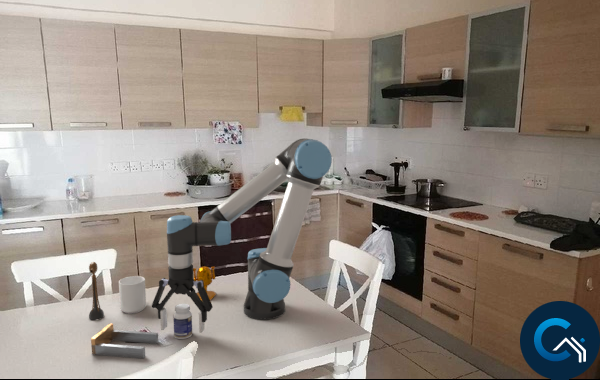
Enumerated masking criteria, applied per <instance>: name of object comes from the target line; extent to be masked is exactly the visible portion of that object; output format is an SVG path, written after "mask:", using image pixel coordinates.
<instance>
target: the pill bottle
mask: <svg viewBox="0 0 600 380" xmlns="http://www.w3.org/2000/svg"><path fill="white" fill-rule="evenodd" d="M191 336H193V314H192V311H191V306H190V304H189V303H179V304H176V305H175V306H174V314H173V337H174V338H175V339H178V340H186V339H188V338H191Z"/></svg>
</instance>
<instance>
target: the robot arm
mask: <svg viewBox="0 0 600 380" xmlns="http://www.w3.org/2000/svg"><path fill="white" fill-rule="evenodd" d="M332 162H333V157H332V154H331V151H330V149H329V147H328V146H326V145H325V144H324V143H323V142H322V141H319V140H317V139H311V138H299V139H296V140H295V141H293V142H292V143H290V145H288V146H287V147H286V148H285V149H283V151H282V152H280V153H278V155H277V156H275V158H274V162H272V163H271V164H269V166H267V167H266V168H265V169H263V170H262V171H261V172H259V173H258V174H257V175H256V176H255V177H253V178H251V180H249V181H248V182H246V183H245V184H244V185H242V187H240V188H239V189H237V190H236V191H235V192H234V193H232V194H231V195H229V196H228V197H227V198H226V199H225V200H223V201H222V202H221V203H219V204H218V205H217V206H216V207H214V208H213V209H211V210H210V211H207V212H205V213H204V214H203V215H202V217H201V218H200V221H198V222H197V221H193V219H192V217H191V216H190V215H186V214H185V215H183V214H177V215H173V216H170V217H169V218H168V219H167V221H166V240H167V241H166V243H167V257H168V258H167V265H168V269H167V270H168V279H167V278H166V277H163V278H162V279H160V280H159V281H158V288H157V291H156V293H155V296H154V299H153V301H152V303H151V308H152V309H156V310H157V318H158V319H159V320H160V331H164V330H165V329H166V328H167V327H168V323H167V321H168V320H167V307H165V305H166V304H167V303H168V302H169V300H170V299H171V298H172V296H173V294H175V295H182V296H183V295H187V297H189V298H190V299H191V301H192V302H193V303H194V304H195V306H196V307H197V308H198V310H199V311H200V312H198V332H199V334H203V331H204V330H205V323H206V322H207V321H208V312H210V311H211V310H212V309H213V304H212V302H211V301H210V299H209V297H208V295H207V293H206V290H205V288H204V282H203V280H200V281H194V272H193V268H194V265H193V263H194V254H193V252H194V251H193V250H194V249H193V247H206V246H207V247H209V246H211V247H212V246H219V247H220V246H224V245H225V246H226V245H229V244H230V243H231V241H232V227H231V224H233V222H234V221H236V220H237V219H238V218H239V217H241V216H243V215H244V214H245V213H246V212H247V211H248V210H250V209H251V208H253V207H254V206H255V205H256V204H257V203H259V202H260V201H261V200H263V199H264V198H266V197H267V196H268V195H269V194H270V193H271V192H273V191H274V190H276V189H277V188H278V187H279V186H281V185H282V184H283V183H284V182H287V180H288V182H287V185H286V189H285V192H284V194H283V197H282V201H281V203H280V206H279V210H278V213H277V217H276V219H275V222H274V226H273V229H272V231H271V235H270V237H269V241H268V243H267V247H263V248H262V247H261V248H255V249H251V250H249V251H248V253H247V258H246V259H247V289H248V290H247V294H246V296H245V297H246V298H245V301H244V302H243V303H244V304H243V314H244V315H245V316H246V317H248V318H251V319H255V320H272V319H277V318H278V317H281V316H283V315H284V314H285V312H286V303H285V298H286V296H288V294H289V293H290V290H291V279H290V277H291V276H292V275H291V274H292V271H293V269H294V262H293V260H292V257H293V253H294V250H295V249H296V244H297V242H298V239H299V236H300V233H301V230H302V227H303V223H304V220H305V217H306V214H307V211H308V208H309V205H310V202H311V199H312V196H313V193H314V190H315V189H317V188H319V187H320V186H321V184H322V181H323V177H324V176H326V174H327V173H328V172H329V171H330V169H331V167H332ZM167 285H168V286H169V288H170V290H169V291H168V292H167V294H166V295H165V297H163V299H162V300H161V298H162V296H163V293H164V291H165V289H166V286H167ZM194 286H195V288H194ZM195 289H197V292H199V294H200V297H201V299H202V300H201V299H200V297H199V296H198V295H197V292H196V290H195ZM160 301H161V302H160Z"/></svg>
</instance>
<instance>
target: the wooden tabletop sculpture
mask: <svg viewBox="0 0 600 380" xmlns="http://www.w3.org/2000/svg"><path fill="white" fill-rule="evenodd" d="M88 270H89V273H90V274H92V275H91V284H92V285H91V286H92V306H91V307H92V308H91V310H90V312H89V314H88V319H89V320H91V321H97V320H101V319H103V318H104V316H105V312H104V310H103V309H102V307H101V305H100V301H99V296H98V283H97V275H96V273H97V272H98V264H97V262H95V261H92V262H90V263H89V265H88Z"/></svg>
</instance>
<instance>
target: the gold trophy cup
mask: <svg viewBox="0 0 600 380" xmlns="http://www.w3.org/2000/svg"><path fill="white" fill-rule="evenodd" d="M215 268H216V267H215V266H211V268H210V267H209V266H205V265H204V266H201V267H199V268H198V270H197V268H196V267H195V268H194V267H193V279H194V281H200V280H203V282H204V288H205V290H206V293H207V295H208V297H209V299H210V302H211V301H212V300H213V299H214V298H215V297H216V295H217V294H216V292H215V291H214V290H208V286H210V285H211V284H212V283H213V280H216V275H215ZM196 271H197V272H196ZM196 293H197V295H198V296H199V297H200V294H199V292H198V291H197V292H196ZM200 299H201V297H200ZM201 300H202V299H201Z"/></svg>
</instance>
